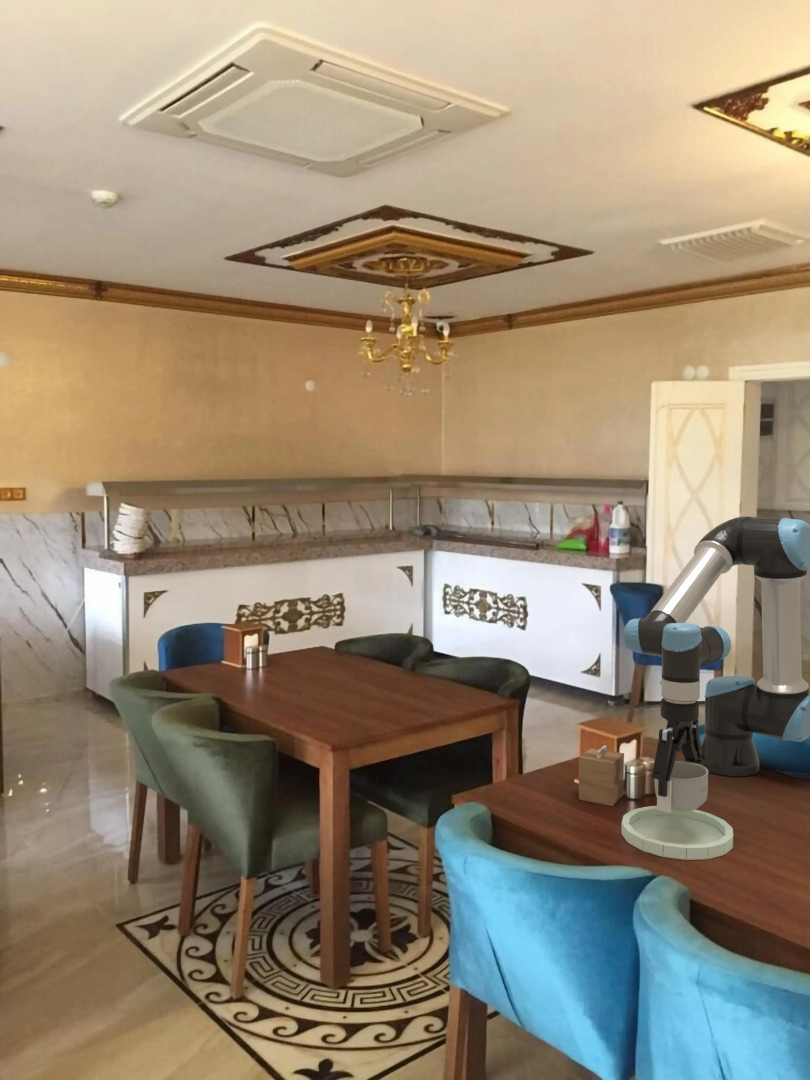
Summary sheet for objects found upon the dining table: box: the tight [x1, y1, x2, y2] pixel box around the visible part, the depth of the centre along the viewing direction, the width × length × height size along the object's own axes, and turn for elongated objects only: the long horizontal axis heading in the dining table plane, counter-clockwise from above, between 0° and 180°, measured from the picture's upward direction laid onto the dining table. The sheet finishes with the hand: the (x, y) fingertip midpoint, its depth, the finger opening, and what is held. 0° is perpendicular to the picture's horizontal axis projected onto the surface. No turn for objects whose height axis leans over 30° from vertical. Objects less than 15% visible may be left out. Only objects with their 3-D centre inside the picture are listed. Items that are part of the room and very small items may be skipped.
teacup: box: [653, 760, 709, 811], centre depth 191 cm, size 14×11×8 cm
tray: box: [620, 805, 734, 861], centre depth 191 cm, size 22×22×2 cm
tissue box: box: [578, 745, 625, 807], centre depth 213 cm, size 8×8×12 cm
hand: (677, 802), depth 191 cm, fingers closed on teacup, 11 cm apart
